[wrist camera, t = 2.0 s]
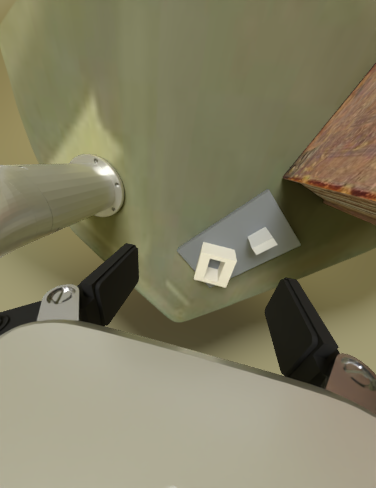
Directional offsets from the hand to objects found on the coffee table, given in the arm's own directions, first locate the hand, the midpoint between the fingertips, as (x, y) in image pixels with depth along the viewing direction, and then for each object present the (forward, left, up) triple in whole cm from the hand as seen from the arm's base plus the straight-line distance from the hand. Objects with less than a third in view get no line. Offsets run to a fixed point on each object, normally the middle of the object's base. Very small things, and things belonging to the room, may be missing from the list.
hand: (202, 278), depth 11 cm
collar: (-1, -13, -23) cm, 26 cm away
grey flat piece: (+4, -10, -24) cm, 27 cm away
